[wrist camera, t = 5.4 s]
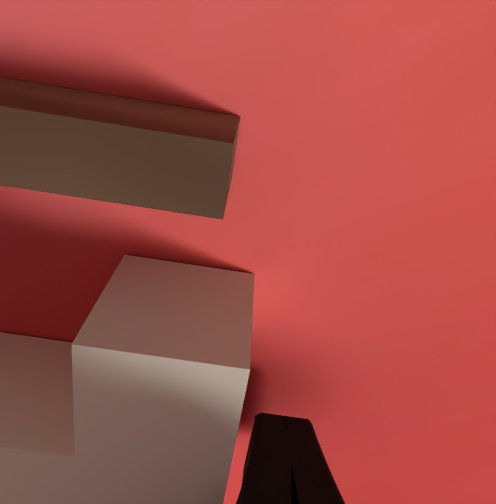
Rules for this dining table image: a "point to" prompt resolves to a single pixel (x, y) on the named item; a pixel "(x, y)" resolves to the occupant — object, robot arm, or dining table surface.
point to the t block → (131, 392)
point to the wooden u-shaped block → (115, 148)
